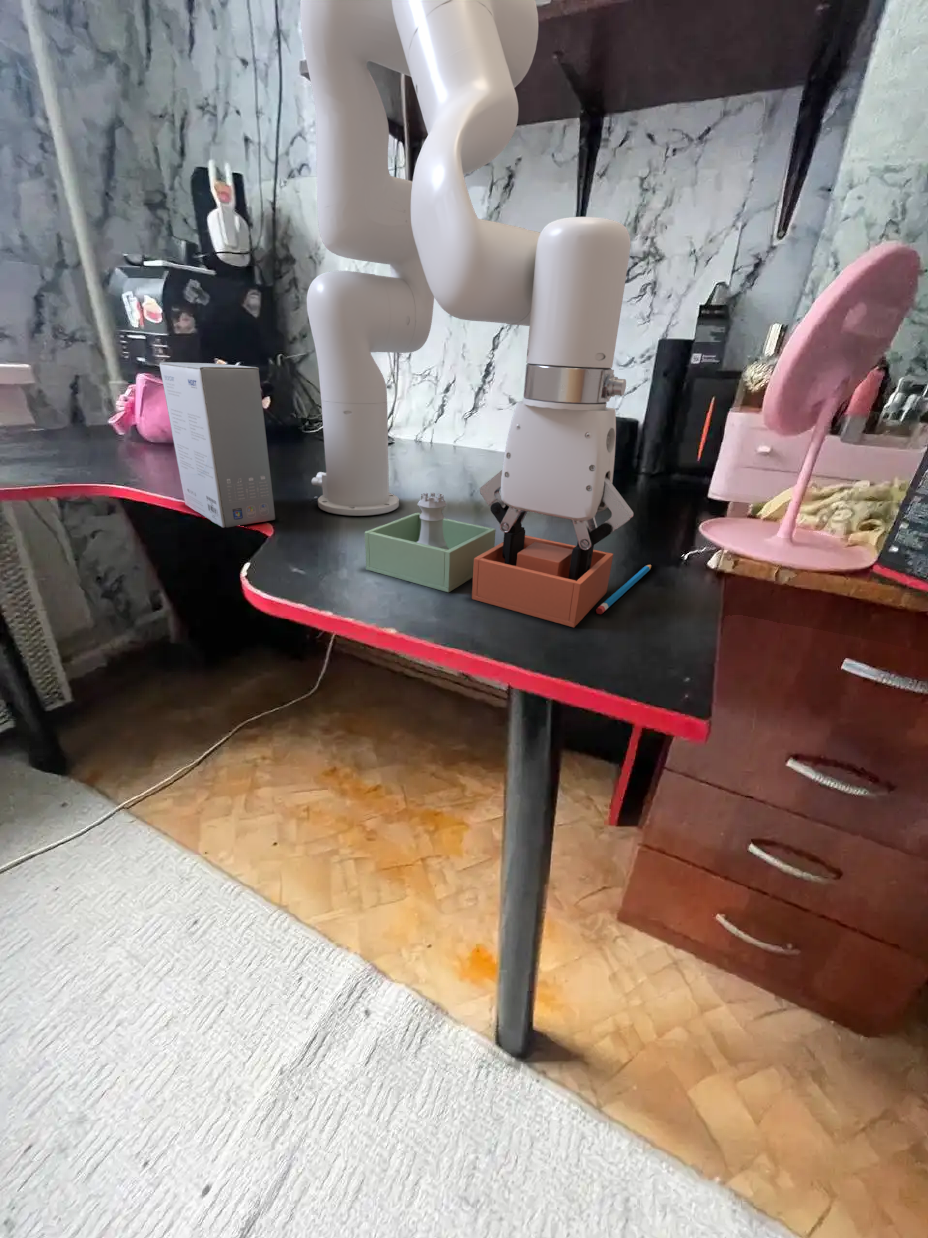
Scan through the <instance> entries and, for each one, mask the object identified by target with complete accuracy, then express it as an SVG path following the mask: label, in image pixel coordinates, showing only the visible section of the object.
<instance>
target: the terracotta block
mask: <svg viewBox="0 0 928 1238" xmlns="http://www.w3.org/2000/svg"><path fill="white" fill-rule="evenodd" d="M571 555H572V550H571V549H567V548H562V547H557V546H553V545H548V544H543V543H539V542H534V543H533V544H531V545H530V546H528V547H526V548H525V549H523V550H522V551H520V552H519V553H518V554H517V565H516V566H517V567H521V568H525V569H529V570H534V571H538V572H542V573H546V574H550V575H555V576H559V577H563V578H567V579H568V576H569V569H570V562H571Z"/></svg>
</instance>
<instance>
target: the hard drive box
mask: <svg viewBox="0 0 928 1238" xmlns="http://www.w3.org/2000/svg"><path fill="white" fill-rule="evenodd" d="M158 366H159V370H160V376H161V381H162V386H163V391H164V398H165V402H166V408H167V415H168V419H169V424H170V430H171V431H170V432H171V436H172V440H173V446H174V451H175V452H174V453H175V459H176V462H177V468H178V473H179V478H180V485H181V490H182V495H183V500H184V504H185V506H186V507H188V508H190V509H191V510H193V511H194V512H196V513H198V514H199V515H201V516H203V517H205V518H206V519H208V520H209V521H210V522H212V523H214V525H215V524H216V525H217V526H219V527H221V528H223V529H225V528H226V529H227V528H232V527H238V526H245V525H251V524H256V523H262V522H263V523H264V522H269V521H275V520H276V513H275V505H274V495H273V485H272V478H271V469H270V461H269V460H270V459H269V452H268V442H267V441H268V440H267V434H266V425H265V416H264V407H263V406H264V405H263V399H262V389H261V380H260V372H259V371H260V367H256V366H245V365H236V364H221V363H211V362H210V363H209V362H208V363H207V362H173V361H172V362H169V361H168V362H167V361H164V362H163V361H162V362H161V361H160V362H159V364H158Z"/></svg>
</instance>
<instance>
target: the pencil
mask: <svg viewBox="0 0 928 1238" xmlns="http://www.w3.org/2000/svg"><path fill="white" fill-rule="evenodd" d="M651 568H652V565H651V564H647V565H645V566H644V567H642V568H641V569H640V570H639V571H638V572H637V573H635V574H634V575H633V576H632V577H631V578H629V580H627V582H625V583H624V584H623V585H622V586H620V588H618V589H617V590H616V591H615V592H614V593H613V594H611V596H609V597H608V598H607V599H605V601H604V602H602V603H601V604H600V605H599V606H598V607H597V608H596V609H595V612H596V614H597V615H602V614H603V613H604V612H606V611H607V610H608V609H609V608H610V607H612V605H614V603H615V602H617V601H618V600H619V599H620V598H621V597H622V596H623V595H624V594H625V593H627V591H629V590H630V589H631V588H632V587H633V586H634V585H636V583H638V582H639V581H640V580H641V579H642V578H643V577H644V576H645V575H646V574H647V573H649V571H650V570H651Z"/></svg>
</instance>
